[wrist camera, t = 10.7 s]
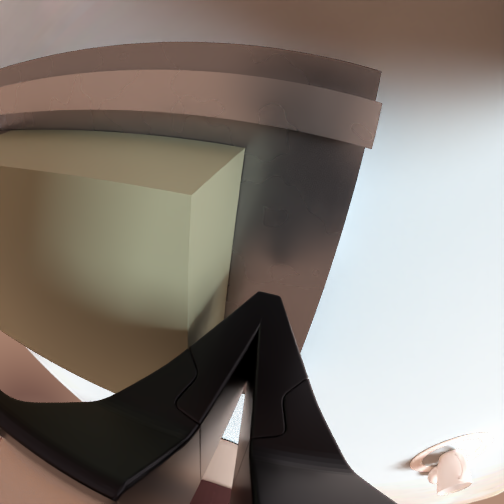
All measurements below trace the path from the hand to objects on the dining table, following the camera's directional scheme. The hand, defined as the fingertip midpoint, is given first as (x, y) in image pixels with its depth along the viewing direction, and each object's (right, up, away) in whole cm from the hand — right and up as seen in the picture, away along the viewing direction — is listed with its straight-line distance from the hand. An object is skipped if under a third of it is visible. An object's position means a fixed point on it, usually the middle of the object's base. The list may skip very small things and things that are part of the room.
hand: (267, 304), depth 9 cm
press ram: (-7, +2, +2) cm, 7 cm away
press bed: (-9, +4, +4) cm, 11 cm away
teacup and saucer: (+15, -17, +11) cm, 25 cm away
